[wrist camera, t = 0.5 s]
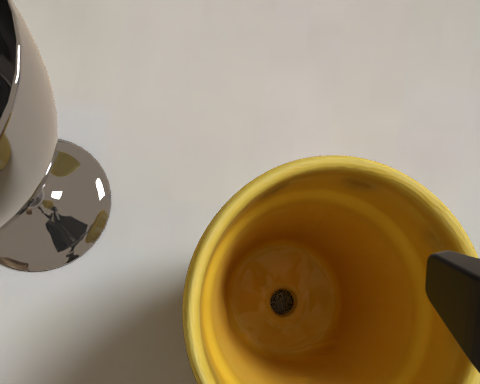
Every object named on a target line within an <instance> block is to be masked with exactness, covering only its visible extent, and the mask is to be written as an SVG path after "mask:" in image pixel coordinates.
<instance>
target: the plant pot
mask: <svg viewBox="0 0 480 384" xmlns="http://www.w3.org/2000/svg"><path fill="white" fill-rule="evenodd" d="M448 250H449V251H453V252H457V253H461V254H464V255H468V256H472V257H475V258H478V256H477V253H476V251H475V249H474V247H473V245H472V243H471V241H470V239H469V238H468V236H467V234H466V232H465V231H464V229H463V228H462V226H461V225H460V223H459V222H458V220H457V219H456V218H455V216H454V215H453V214H452V213H451V212H450V210H449V209H448V208H447V207H446V206H445V205H444V204H443V203H442V202H441V201H440V200H439V199H438V198H437V197H436V196H435V195H434V194H432V193H431V192H430V191H429V190H428V189H426V188H425V187H424V186H423V185H421V184H420V183H418V182H417V181H415V180H414V179H412V178H410V177H409V176H407V175H405V174H403V173H401V172H400V171H398V170H395V169H393V168H391V167H389V166H386V165H384V164H381V163H378V162H375V161H371V160H367V159H363V158H357V157H350V156H329V155H328V156H316V157H309V158H304V159H299V160H295V161H292V162H289V163H286V164H283V165H280V166H278V167H276V168H273V169H271V170H269V171H267V172H266V173H264V174H262V175H260V176H259V177H257V178H255V179H254V180H252V181H251V182H249V183H248V184H247V185H245V186H244V187H243V188H242V189H241V190H239V191H238V192H237V193H236V194H235V195H233V196H232V198H231V199H230V200H229V201H228V202H227V203H226V204H225V205H224V206H223V207H222V208H221V209H220V210H219V212H218V213H217V214H216V215H215V217H214V218H213V219H212V221H211V222H210V224H209V225H208V227H207V228H206V230H205V232H204V233H203V235H202V237H201V239H200V241H199V243H198V245H197V247H196V249H195V251H194V254H193V256H192V259H191V262H190V265H189V268H188V272H187V276H186V281H185V286H184V293H183V305H182V321H183V332H184V339H185V345H186V350H187V354H188V358H189V361H190V365H191V368H192V371H193V374H194V376H195V379H196V381H197V383H198V384H480V373H479V372H478V371H477V369H476V368H475V367H474V365H473V364H472V363H471V362H470V360H469V359H468V357H467V356H466V355H465V353H464V352H463V350H462V349H461V347H460V346H459V344H458V343H457V341H456V340H455V338H454V337H453V335H452V334H451V332H450V331H449V329H448V328H447V326H446V325H445V323H444V322H443V320H442V319H441V317H440V316H439V314H438V313H437V311H436V310H435V308H434V307H433V305H432V304H431V302H430V301H429V299H428V297H427V295H426V290H425V282H426V267H427V259H428V257H429V256H430V255H431V254H433V253H437V252H442V251H448ZM278 290H287V291H289V292H290V293H291V294H292V296H293V299H294V304H293V307H292V308H291V310H290V311H289V312H287V313H285V314H277V313H276V312H274V310H273V309H272V307H271V302H270V301H271V298H272V296H273V294H274V293H275V292H276V291H278Z"/></svg>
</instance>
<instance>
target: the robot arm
mask: <svg viewBox="0 0 480 384" xmlns="http://www.w3.org/2000/svg"><path fill="white" fill-rule="evenodd" d="M425 290H426V295H427V297H428V299H429V301H430V302H431V304H432V305H433V307H434V308H435V310H436V311H437V313H438V314H439V316H440V317H441V319H442V320H443V322H444V323H445V325H446V326H447V328H448V329H449V331H450V332H451V334H452V335H453V337H454V338H455V340H456V341H457V343H458V344H459V346H460V347H461V349H462V350H463V352H464V353H465V355H466V356H467V357H468V359H469V360H470V362H471V363H472V364H473V365H474V367H475V368H476V369H477V371H478V372H479V373H480V259H479V258H475V257H472V256H468V255H464V254H461V253H457V252H453V251H449V250H448V251H442V252H437V253H433V254H431V255H430V256H429V257H428V259H427V267H426V282H425Z"/></svg>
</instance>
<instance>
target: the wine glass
mask: <svg viewBox="0 0 480 384" xmlns="http://www.w3.org/2000/svg"><path fill="white" fill-rule="evenodd" d="M110 208H111V191H110V186H109V182H108V179H107V177H106V174H105V172H104V170H103V169H102V167H101V166H100V164H99V162H98V161H97V160H96V159H95V158H94V157H93V156H92V155H91V154H90V153H89V152H87V151H86V150H84V149H83V148H82V147H80V146H78V145H76V144H74V143H72V142H69V141H66V140H62V139H58V122H57V111H56V106H55V100H54V95H53V90H52V87H51V83H50V80H49V76H48V73H47V70H46V67H45V65H44V62H43V60H42V57H41V55H40V52H39V50H38V47H37V45H36V43H35V41H34V39H33V37H32V35H31V33H30V31H29V29H28V27H27V25H26V23H25V21H24V19H23V18H22V16H21V14H20V13H19V11H18V9H17V8H16V6H15V4H14V3H13V1H12V0H0V263H2V264H4V265H6V266H8V267H11V268H14V269H18V270H23V271H33V272H34V271H47V270H51V269H55V268H59V267H62V266H64V265H66V264H69V263H71V262H73V261H74V260H76V259H78V258H79V257H81V256H82V255H83V254H84V253H86V252H87V251H88V250H89V249H90V248H91V247H92V246H93V245H94V244H95V242H96V241H97V240H98V239H99V237H100V236H101V234H102V232H103V230H104V228H105V226H106V224H107V221H108V218H109V214H110Z"/></svg>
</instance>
